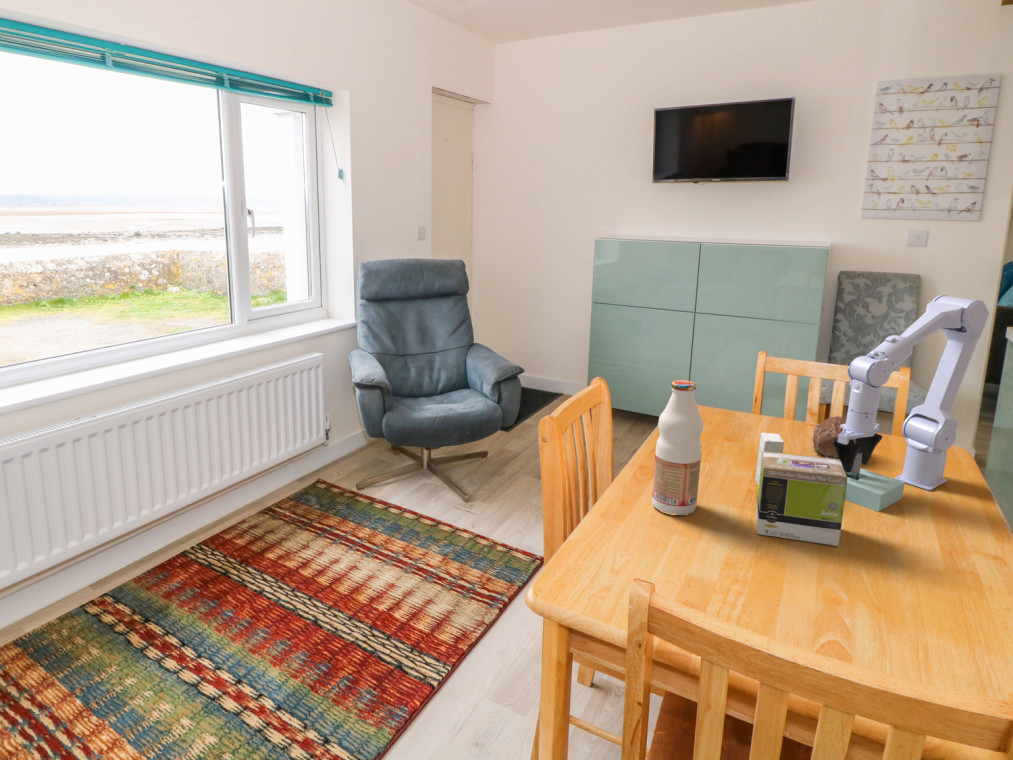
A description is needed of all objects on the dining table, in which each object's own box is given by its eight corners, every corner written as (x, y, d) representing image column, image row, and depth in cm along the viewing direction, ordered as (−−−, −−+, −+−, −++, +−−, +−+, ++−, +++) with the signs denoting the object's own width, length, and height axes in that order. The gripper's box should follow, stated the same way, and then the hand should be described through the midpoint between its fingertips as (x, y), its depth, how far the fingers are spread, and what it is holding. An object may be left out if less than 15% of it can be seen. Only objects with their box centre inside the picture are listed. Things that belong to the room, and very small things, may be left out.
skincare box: (778, 491, 151) (784, 442, 148) (758, 489, 152) (764, 440, 149) (773, 480, 157) (779, 433, 153) (754, 479, 157) (760, 432, 154)
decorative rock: (815, 443, 182) (820, 408, 179) (860, 452, 175) (866, 416, 173) (804, 457, 171) (809, 421, 169) (852, 467, 165) (858, 430, 162)
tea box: (832, 525, 135) (842, 458, 132) (838, 548, 126) (849, 477, 122) (754, 513, 140) (762, 448, 136) (755, 535, 131) (763, 466, 127)
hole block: (824, 472, 162) (826, 457, 161) (901, 498, 148) (904, 482, 147) (799, 483, 155) (802, 467, 154) (878, 511, 141) (881, 494, 140)
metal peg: (846, 487, 154) (851, 448, 151) (859, 491, 151) (865, 452, 149) (840, 490, 152) (845, 451, 150) (853, 494, 149) (858, 455, 147)
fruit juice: (657, 517, 138) (667, 389, 130) (646, 497, 147) (655, 376, 140) (701, 517, 138) (714, 389, 131) (688, 497, 147) (699, 376, 140)
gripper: (860, 400, 154) (852, 454, 157) (827, 411, 145) (819, 468, 149) (892, 408, 148) (882, 464, 152) (860, 419, 140) (850, 478, 143)
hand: (853, 467), depth 150 cm, fingers open, 7 cm apart
